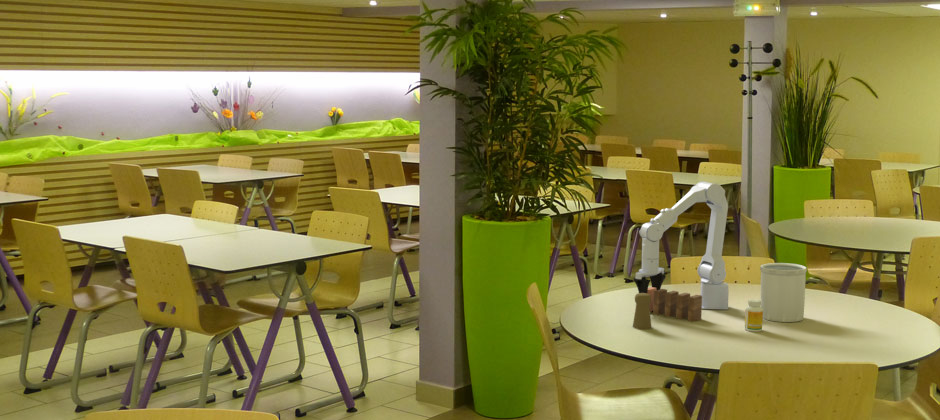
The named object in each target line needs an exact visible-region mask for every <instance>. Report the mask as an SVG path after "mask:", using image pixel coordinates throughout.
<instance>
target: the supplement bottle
mask: <svg viewBox="0 0 940 420" xmlns="http://www.w3.org/2000/svg"><path fill="white" fill-rule="evenodd" d="M744 310H745V315H744V330H745V331H747V332H752V333H757V332H758V333H759V332H762V331H763V308H762V307H761V299H756V298H755V299H754V298H753V299H748V300H747V306H746V307H745V309H744Z"/></svg>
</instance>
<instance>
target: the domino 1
mask: <svg viewBox="0 0 940 420" xmlns="http://www.w3.org/2000/svg"><path fill="white" fill-rule="evenodd" d="M656 289H657V288H654V287H652V286H651V287H648V290H647V294H649V295H650V296H651V302H650V304H649V308H650V313H653V312H654V291H656ZM652 311H653V312H652Z"/></svg>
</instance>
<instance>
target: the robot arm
mask: <svg viewBox="0 0 940 420" xmlns="http://www.w3.org/2000/svg"><path fill="white" fill-rule="evenodd" d="M696 203H706V205H707V206H708V208H709V209H711V211H710V212H711V213H710V218H709V226H708V233H707V241H706V248H705V249H706V250H705V253H704V255H703V256H702V257H701V261H700V263H699V265H698V267H697V275H698V276H699V277H700V294H699V295H702V310H729V296H730V295H729V292H730V291H729V284H728V282H724V281H725V279H726V276H727V271H726V262H725V260H724V258H723V256H722V255H723V247H724V240H725V232H726V225H727V218H728V210H729V203H728V201H727V197H726V190H725V188H723V187H722V186H721V185H720V184H718V183H714V182H713V183H712V182H707V181H704V180H702V181H699V182H698V183H696V184H695V185H693V186H692V187H691V188H690V190H689V191H688V192H687V193H686V194H685V195H684V196H683V197H682V198H681V199H680V200H678V202H676V203H675V204H674V205H673V206H672V207H671V208H667V207H666V208H662V209H661V210H660V213H658V214H657V215H656V216H655V217H654V218H650V219H649V220H650V221H649V222H645V223H643V224H642V225H641V227H640V230H639V231H638V234H639V236H640V237H641V240H642V241H641V268H640V269H639V270H638V272H635V277H634V278H633V281H634V283H635V285H636V287H637V290H638V293H647V290H648V288H649V285H650V284H651V287H654V288H657V289H656V290H660V289H662V285H663V283H664V281H665V279H666V278H667V277H666V274H665V268H664V267H660V265H659V264H660V263H659V261H660V260H659V259H660V240H661V238H663V235H664V232H666V231H667V230H668V229H669V228H670V227H672V226H673V225H674V224H675V223H676V222H677V221H678V216H679V215H682V213H684V212H685V211H687V210H688V209H689V208H691V207H692V206H693V205H695V204H696ZM648 277H649V279H647V278H648ZM650 282H651V283H650Z"/></svg>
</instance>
